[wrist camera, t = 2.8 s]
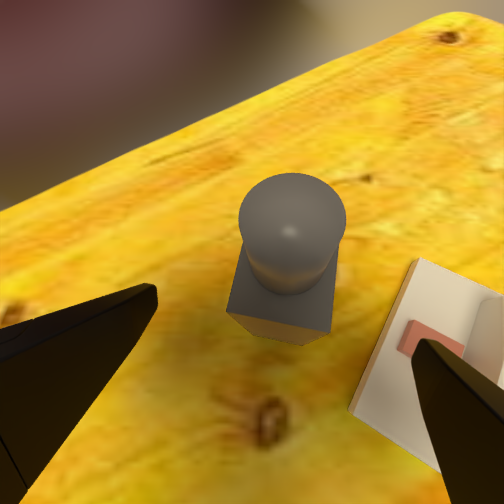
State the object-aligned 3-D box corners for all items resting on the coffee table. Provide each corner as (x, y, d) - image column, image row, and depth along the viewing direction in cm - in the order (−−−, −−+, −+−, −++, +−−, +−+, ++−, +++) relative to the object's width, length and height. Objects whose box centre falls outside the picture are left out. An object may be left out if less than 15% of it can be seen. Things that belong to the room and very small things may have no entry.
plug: (302, 345, 17) (357, 320, 5) (253, 335, 18) (200, 290, 6) (310, 283, 19) (368, 152, 7) (265, 275, 19) (243, 141, 7)
